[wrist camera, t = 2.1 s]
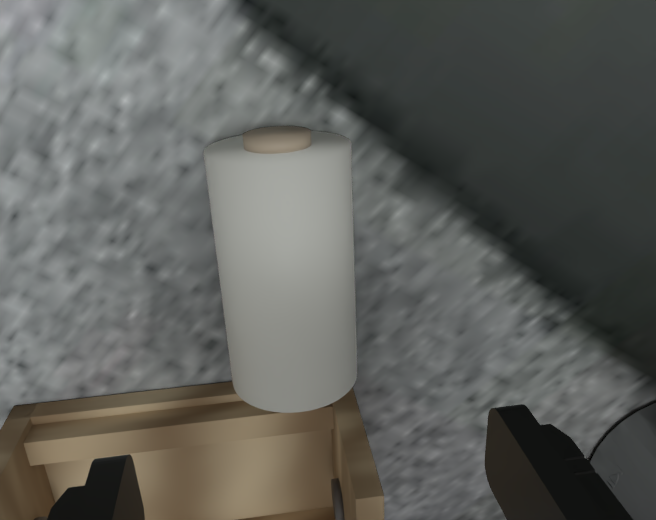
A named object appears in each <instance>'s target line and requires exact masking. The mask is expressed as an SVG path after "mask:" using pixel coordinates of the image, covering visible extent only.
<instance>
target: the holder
mask: <svg viewBox="0 0 656 520" xmlns="http://www.w3.org/2000/svg"><path fill="white" fill-rule="evenodd" d="M128 454H130V455H131V456H132V458H133V462H134V466H135V471H136V475H137V480H138V484H139V489H140V493H141V497H142V502H143V507H144V514H145V520H384V494H383V490H382V487H381V484H380V480H379V477H378V473H377V470H376V466H375V463H374V459H373V456H372V453H371V449H370V446H369V442H368V439H367V435H366V432H365V428H364V425H363V422H362V418H361V415H360V411H359V408H358V404H357V401H356V397H355V394H354V391H353V387H352V388H351V390H350V391H349V392H348V393H347V394H346V395H344V396H343V397H342V398H340V399H339V400H337V401H335V402H334V403H331V404H329V405H327V406H324V407H321V408H318V409H315V410H310V411H305V412H295V413H280V412H272V411H267V410H263V409H259V408H257V407H254V406H252V405H250V404H248V403H247V402H245V401H244V400H242V399H241V398H240V397H239V396H238V394H237V393H236V391H235V390H234V387H233V382H224V383H215V384H206V385H197V386H188V387H179V388H170V389H161V390H152V391H143V392H134V393H125V394H116V395H107V396H98V397H90V398H81V399H72V400H63V401H54V402H45V403H36V404H27V405H18V406H14V407H13V409H12V410H11V412H10V414H9V416H8V417H7V419H6V421H5V423H4V425H3V426H2V428H1V430H0V520H47V518H48V515H49V512H50V510H51V508H52V506H53V505H54V504H55V503H56V502H57V500H58V499H59V498H60V497H61V496H62V494H63V493H64V492H65V491H66V490H67V488H69V487H77V486H84V485H85V483H86V480H87V477H88V473H89V470H90V467H91V464H92V462H93V460H94V459H97V458H105V457H113V456H120V455H128Z"/></svg>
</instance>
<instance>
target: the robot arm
mask: <svg viewBox="0 0 656 520" xmlns="http://www.w3.org/2000/svg"><path fill="white" fill-rule="evenodd" d="M485 470H486V475H487V479H488V482H489V485H490V488H491V490H492V492H493V494H494V496H495V497H496V499H497V501H498V503H499V505H500V507H501V509H502V511H503V513H504V515H505V517H506V518H507V520H656V403H654V404H652V405H650V406H648V407H646V408H643V409H641V410H639V411H637V412H636V413H634V414H633V415H631V416H630V417H628V418H627V419H625V420H624V421H622V422H621V423H620V424H619V425H618V426H617V427H616V428H615V429H613V430H612V431H611V432H610V433H609V434H608V435H607V436H606V438H605V439H604V440H603V441H602V443H601V444H600V445H599V447H598V448H597V450H596V451H595V453H594V455H593V457H592V459H591V461H590V462H589V461H588V460H587V459H585V458H584V455H583V453H582V452H581V451H580V449H579V448H578V447H577V445H576V444H575V443H574V442H573V440H572V439H571V438H570V437H569V436H567V435H566V434H564V433H563V432H561V431H560V430H559V429H557V428H556V427H554V426H553V425H551V424H547V425H540V424H539V423H538V422H537V420H536V419H535V417H534V416H533V415H532V413H531V412H530V411H529V409H528V408H527V407H526V406H525V405H514V406H506V407H499V408H492V409H491V410H490V411H489V415H488V426H487V439H486V451H485ZM47 520H145V514H144V507H143V502H142V497H141V493H140V489H139V484H138V480H137V475H136V471H135V466H134V462H133V458H132V456H131V455H130V454H128V455H120V456H113V457H105V458H97V459H94V460H93V462H92V464H91V467H90V470H89V473H88V477H87V480H86V483H85V485H84V486H77V487H69V488H67V490H66V491H65V492H64V493H63V494H62V496H61V497H60V498H59V499H58V500H57V502H56V503H55V504H54V505H53V506H52V508H51V510H50V512H49V515H48V518H47Z"/></svg>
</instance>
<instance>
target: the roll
mask: <svg viewBox="0 0 656 520" xmlns="http://www.w3.org/2000/svg"><path fill="white" fill-rule="evenodd" d="M203 153H204V161H205V169H206V177H207V184H208V192H209V200H210V208H211V216H212V224H213V232H214V240H215V248H216V256H217V263H218V271H219V279H220V287H221V295H222V303H223V311H224V319H225V327H226V334H227V342H228V350H229V358H230V366H231V374H232V382H233V387H234V390H235V391H236V393H237V394H238V396H239V397H240V398H241V399H242V400H244V401H245V402H247V403H248V404H250V405H252V406H254V407H257V408H259V409H263V410H267V411H272V412H280V413H295V412H305V411H310V410H315V409H318V408H321V407H324V406H327V405H329V404H331V403H334V402H335V401H337V400H339V399H340V398H342V397H343V396H344V395H346V394H347V393H348V392H349V391H350V390H351V388H352V387H353V386H354V384H355V382H356V379H357V336H356V300H355V264H354V228H353V193H352V157H351V141H350V140H349V139H348V138H346V137H344V136H342V135H338V134H334V133H328V132H320V131H311V130H310V129H308V128H304V127H297V126H274V127H264V128H258V129H254V130H250V131H247V132H245V133H243V135H240V136H235V137H231V138H227V139H223V140H220V141H217V142H215V143H212V144H210V145H209V146H207V147H206V148H205V149H204V152H203Z"/></svg>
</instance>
